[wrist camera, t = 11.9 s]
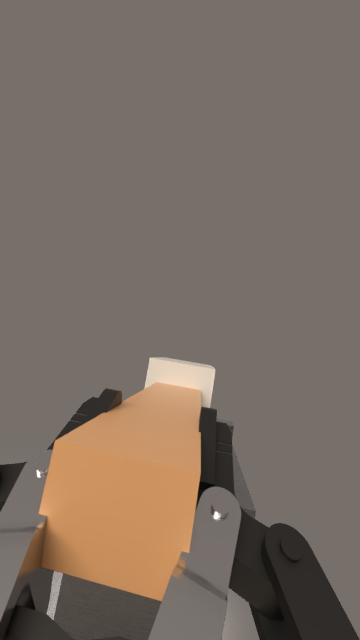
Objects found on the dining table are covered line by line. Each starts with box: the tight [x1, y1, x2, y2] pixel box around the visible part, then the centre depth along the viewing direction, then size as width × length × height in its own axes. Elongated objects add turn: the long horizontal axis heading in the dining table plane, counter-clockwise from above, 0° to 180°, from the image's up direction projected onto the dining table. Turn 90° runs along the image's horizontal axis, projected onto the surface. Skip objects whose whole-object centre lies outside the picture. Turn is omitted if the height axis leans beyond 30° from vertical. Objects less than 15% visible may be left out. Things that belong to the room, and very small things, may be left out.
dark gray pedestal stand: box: [54, 419, 256, 640], centre depth 24 cm, size 20×16×34 cm
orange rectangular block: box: [39, 357, 215, 601], centre depth 18 cm, size 6×24×5 cm, turn 175°
